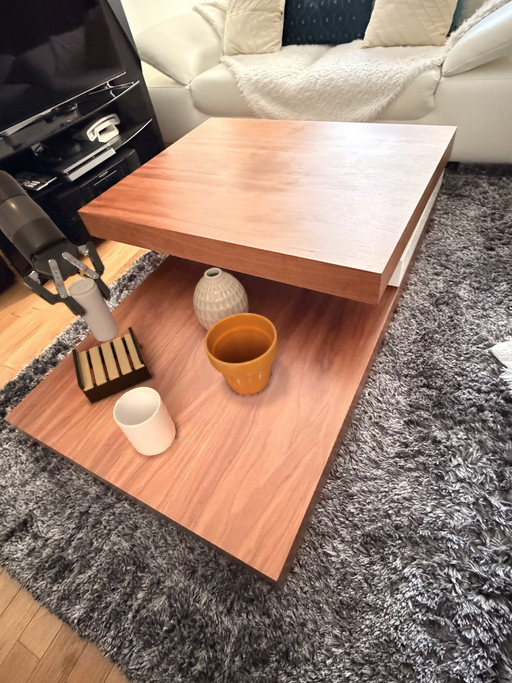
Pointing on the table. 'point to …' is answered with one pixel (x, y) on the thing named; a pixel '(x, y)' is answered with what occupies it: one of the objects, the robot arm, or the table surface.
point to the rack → (110, 367)
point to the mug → (145, 420)
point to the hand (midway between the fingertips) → (95, 306)
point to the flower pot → (243, 350)
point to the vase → (218, 297)
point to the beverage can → (94, 309)
